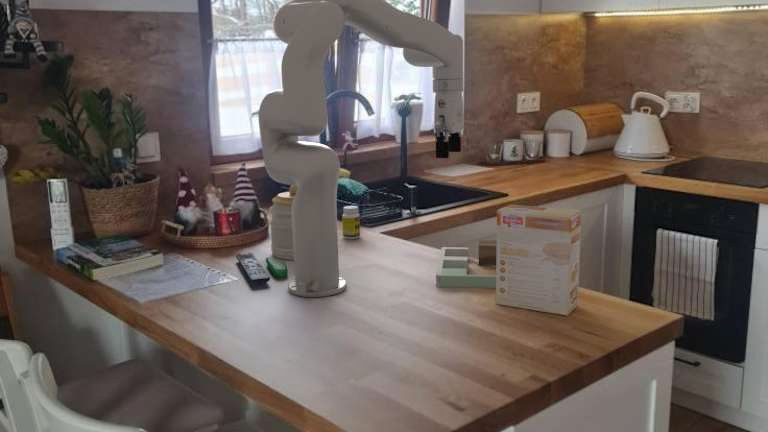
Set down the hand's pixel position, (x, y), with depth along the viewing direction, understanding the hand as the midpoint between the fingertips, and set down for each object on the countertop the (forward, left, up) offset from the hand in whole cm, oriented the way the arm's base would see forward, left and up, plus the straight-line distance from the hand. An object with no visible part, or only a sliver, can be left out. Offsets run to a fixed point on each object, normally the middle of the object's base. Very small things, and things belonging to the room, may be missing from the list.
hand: (448, 154), depth 191 cm
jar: (-10, +38, -24) cm, 46 cm away
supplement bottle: (+7, +27, -24) cm, 37 cm away
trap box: (-22, -8, -24) cm, 33 cm away
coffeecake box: (-44, -19, -24) cm, 54 cm away
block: (-15, -10, -24) cm, 30 cm away
